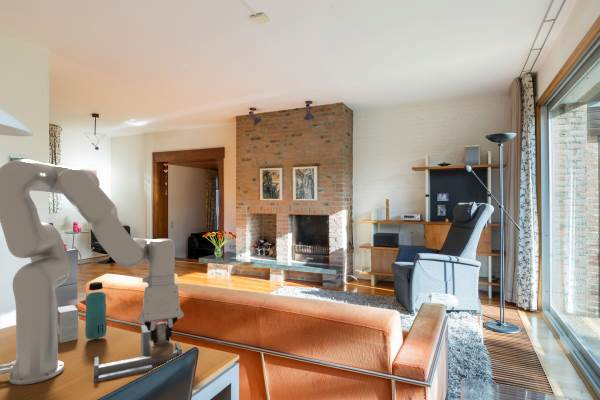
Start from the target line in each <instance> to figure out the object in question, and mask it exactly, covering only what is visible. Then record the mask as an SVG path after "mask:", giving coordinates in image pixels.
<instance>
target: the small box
mask: <svg viewBox="0 0 600 400" xmlns="http://www.w3.org/2000/svg"><path fill="white" fill-rule="evenodd" d="M78 339H79V309H78V308H77V306H76V305H74V304H70V305H65V306H58V344H62V343H66V342H67V343H68V342H71V341H75V340H78Z"/></svg>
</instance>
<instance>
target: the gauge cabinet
mask: <svg viewBox="0 0 600 400" xmlns="http://www.w3.org/2000/svg"><path fill="white" fill-rule="evenodd" d="M165 322H166V325H167V321H165ZM149 341H153V340H151V330H150V329H149V328H148V327H147V326H145V325H143V324H141V326H140V351H141V357H142V356H148V355H150V353H149Z"/></svg>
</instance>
